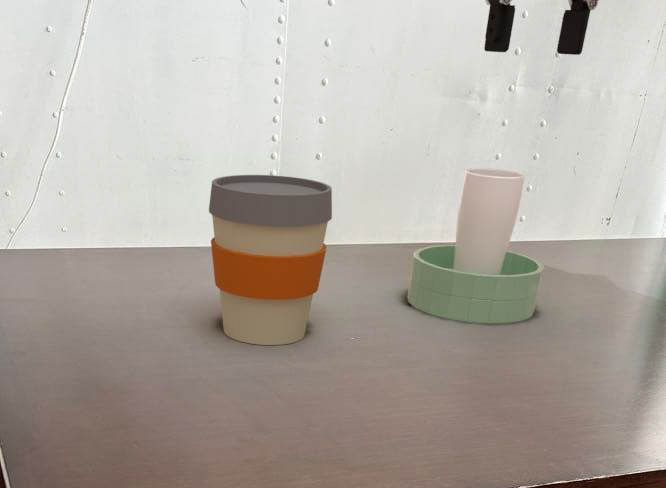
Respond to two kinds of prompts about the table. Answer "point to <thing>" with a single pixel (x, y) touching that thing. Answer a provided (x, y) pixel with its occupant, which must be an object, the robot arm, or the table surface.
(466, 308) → the green plastic ring
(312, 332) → the table surface
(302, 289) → the reusable coffee cup
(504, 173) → the drinking glass
